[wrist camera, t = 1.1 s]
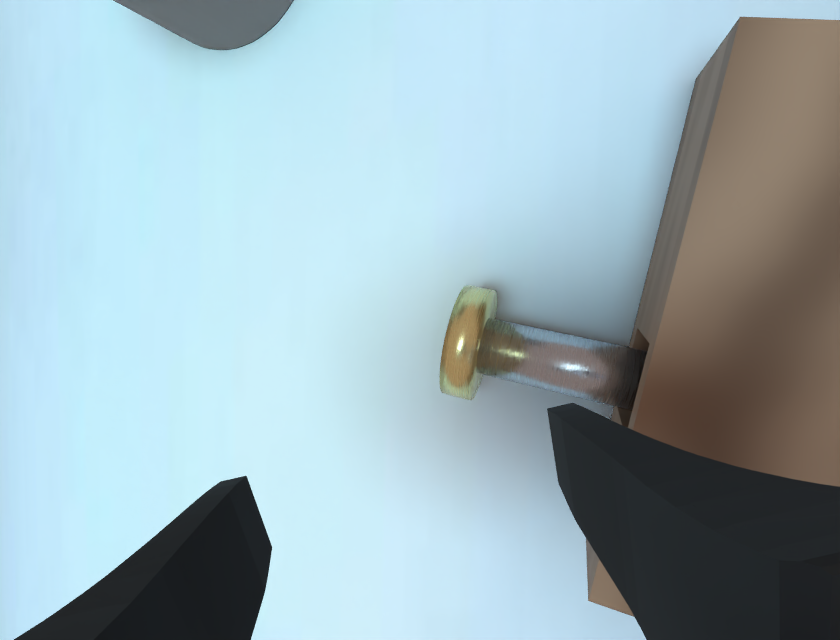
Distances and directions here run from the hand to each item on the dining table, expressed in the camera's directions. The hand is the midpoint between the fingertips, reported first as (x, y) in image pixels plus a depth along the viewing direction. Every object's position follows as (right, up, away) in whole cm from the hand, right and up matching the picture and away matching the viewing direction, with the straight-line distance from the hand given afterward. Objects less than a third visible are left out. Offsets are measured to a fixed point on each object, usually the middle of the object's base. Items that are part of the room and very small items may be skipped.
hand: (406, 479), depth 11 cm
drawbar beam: (+13, +3, +9) cm, 16 cm away
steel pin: (+7, +2, +11) cm, 13 cm away
